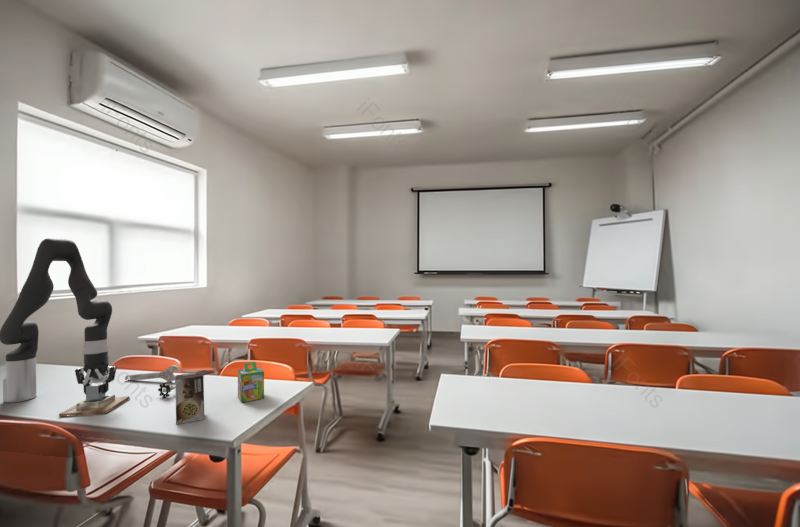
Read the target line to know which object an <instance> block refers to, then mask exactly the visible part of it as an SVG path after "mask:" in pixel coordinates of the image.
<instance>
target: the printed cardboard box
mask: <svg viewBox="0 0 800 527" xmlns="http://www.w3.org/2000/svg"><path fill="white" fill-rule="evenodd" d="M175 376H176V378H175V380H174V385H175V389H174V390H175V391H174V392H175V425H182V424H185V423H191V422H197V421H201V420H205V388H204V387H205V386H204V382H205V381H204V375H203V372H199V371H196V372H190V373H182V374H176V375H175Z"/></svg>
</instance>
